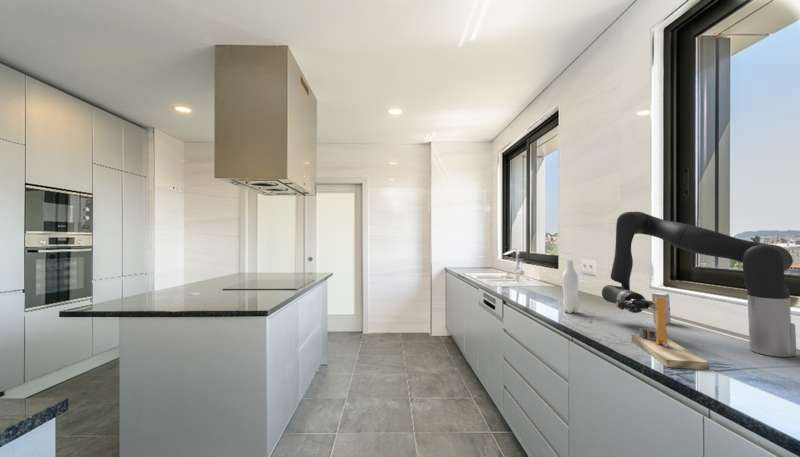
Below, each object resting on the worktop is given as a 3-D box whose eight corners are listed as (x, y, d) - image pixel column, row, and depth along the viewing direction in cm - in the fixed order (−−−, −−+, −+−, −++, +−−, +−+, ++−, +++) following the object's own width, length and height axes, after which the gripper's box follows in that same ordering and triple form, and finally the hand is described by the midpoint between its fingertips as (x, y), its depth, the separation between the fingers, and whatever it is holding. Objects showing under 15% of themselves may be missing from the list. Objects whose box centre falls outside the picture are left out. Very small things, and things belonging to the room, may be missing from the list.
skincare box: (665, 324, 148) (664, 294, 149) (652, 322, 152) (651, 293, 152) (671, 322, 152) (670, 293, 152) (659, 320, 155) (658, 292, 156)
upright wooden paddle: (661, 339, 120) (659, 294, 120) (675, 347, 110) (674, 299, 111) (646, 338, 121) (645, 294, 121) (660, 347, 111) (658, 299, 112)
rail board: (664, 342, 124) (664, 336, 124) (709, 369, 98) (708, 362, 99) (631, 340, 126) (631, 335, 126) (667, 367, 101) (666, 359, 101)
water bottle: (559, 311, 177) (558, 260, 178) (571, 310, 180) (569, 259, 180) (570, 314, 171) (569, 261, 171) (582, 313, 173) (581, 260, 173)
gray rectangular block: (659, 337, 123) (659, 328, 123) (667, 342, 117) (667, 332, 118) (639, 336, 124) (639, 327, 124) (646, 341, 119) (646, 331, 119)
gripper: (609, 290, 141) (625, 297, 125) (651, 291, 138) (672, 298, 122) (610, 310, 141) (625, 319, 125) (652, 311, 138) (673, 321, 122)
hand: (648, 309), depth 124 cm, fingers open, 8 cm apart
